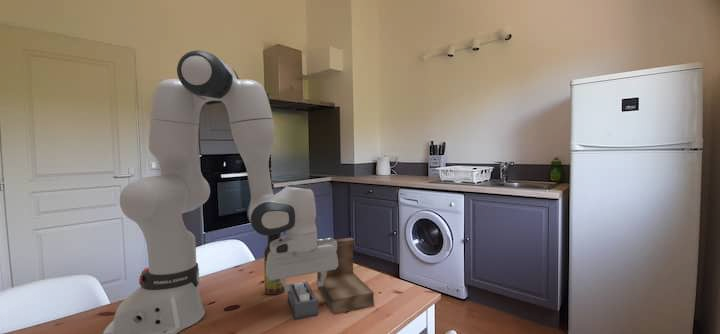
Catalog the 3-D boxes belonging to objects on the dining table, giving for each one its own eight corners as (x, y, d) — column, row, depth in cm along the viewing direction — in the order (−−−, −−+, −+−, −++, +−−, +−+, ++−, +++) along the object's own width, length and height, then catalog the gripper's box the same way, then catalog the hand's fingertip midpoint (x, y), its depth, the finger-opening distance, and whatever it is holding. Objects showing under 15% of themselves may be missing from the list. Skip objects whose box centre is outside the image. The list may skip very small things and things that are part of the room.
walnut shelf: (333, 314, 89) (332, 258, 88) (317, 289, 105) (316, 241, 105) (373, 306, 93) (372, 252, 92) (352, 283, 110) (351, 237, 109)
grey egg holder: (295, 321, 86) (295, 300, 86) (288, 299, 99) (287, 281, 99) (318, 316, 88) (317, 297, 88) (307, 295, 101) (307, 278, 101)
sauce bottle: (279, 296, 101) (277, 232, 100) (261, 294, 102) (259, 232, 101) (288, 287, 107) (286, 227, 106) (270, 286, 108) (269, 227, 107)
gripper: (334, 234, 99) (336, 279, 99) (264, 243, 92) (266, 291, 92) (339, 239, 93) (342, 286, 94) (265, 249, 86) (268, 300, 87)
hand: (304, 289), depth 93 cm, fingers open, 8 cm apart
